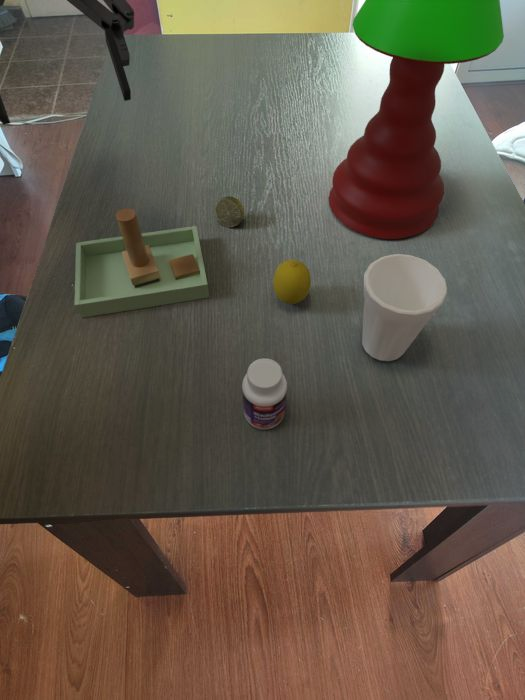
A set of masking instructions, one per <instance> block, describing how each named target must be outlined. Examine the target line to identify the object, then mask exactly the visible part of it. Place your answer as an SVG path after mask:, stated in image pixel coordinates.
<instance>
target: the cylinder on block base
mask: <svg viewBox="0 0 525 700" xmlns="http://www.w3.org/2000/svg"><path fill="white" fill-rule="evenodd" d="M115 219H116V222H117V226H118V228H119V231H120V235H121V236H122V237H123V240H124V243H125V247H126V251H123V252H122V254H123V257H124V260H125V263H126V267H127V270H128V273H129V276H130V279H131V282H132V285H134V286H135V288H137V287H140V286H144V285H147V284H151V283H154V282H158V281H160V280H159V278H160V274H159V271H158V268H157V265H156V263H155V260H154V257H153V255H152V252H151V250H150V247H149V245H145V244H144V241H143V237H142V234H141V233H142V230H141V227H140V226H141V225H140V223H139V220H138V216H137V213H136V211H135V209H133V208H129V207H124V208H122V209H119V210H117V212H116V213H115Z"/></svg>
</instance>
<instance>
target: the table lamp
mask: <svg viewBox="0 0 525 700" xmlns="http://www.w3.org/2000/svg"><path fill="white" fill-rule="evenodd" d="M352 27H353V32H354V34H355V36H356V38H357V39H358V40H359V41H360V42H361V43H362V44H364V45H365V46H366V47H368V48H370V49H372V50H373V51H375V52H377V53H380V54H382V55H385V56H388V57H390V58H391V61H390V64H389V82H388V85H387V87H386V88H385V90H384V92H383V94H382V96H381V98H380V103H379V104H380V105H379V109H378V111H377V113H376V114H374V116H373V117H372V118H370V120H369V121H368V122H367V123H366V126H365V128H364V133H363V135H361V136H360V137H359V138H357V139H356V140H355V141H354V142H353V143H352V144H351V145H350V147H349V149H348V150H347V154H346V158H345V159H343V160H342V161H341V162H340V163H339V164H338V166H337V167H336V168H335V170H334V172H333V175H332V181H331V184H332V187H331V189H330V190H329V194H328V205H329V207H330V209H331V212H332V213H333V214H334V216H335V217H336V219H337V220H339V222H340V223H342V224H343V225H344V226H345V227H347V228H348V229H350V230H352V231H354V232H356V233H359V234H362V235H365V236H368V237H371V238H376V239H381V240H382V239H383V240H399V239H403V238H409V237H412V236H416V235H419V234H422V233H423V232H425V231H427V230H428V229H429V228H430V227H431V226H433V224H434V223H435V221H436V220H437V218H438V217H439V212H440V205H441V203H442V202H443V199H444V196H445V184H444V181H443V178H442V176H441V174H440V173H441V170H442V159H441V157H440V154H439V152H438V150H437V149H436V147H435V144H436V141H437V131H436V128H435V125H434V123H433V120H432V118H433V114H434V112H435V109H436V89H437V86H438V84H439V82H440V81H441V79H442V78H443V74H444V71H445V65H453V64H461V63H468V62H472V61H473V62H474V61H476V60H480V59H482V58H485V57H488V56H489V55H491V54H493V53H494V52H496V50H497V49H498V48H499V47H500V46H501V44H503V41H504V37H505V35H504V25H503V18H502V9H501V1H500V0H364V2H363V3H362V5H361V7H360V8H359V10H358V12H357V13H356V15H355V16H354V17H353V21H352Z"/></svg>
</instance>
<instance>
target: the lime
mask: <svg viewBox="0 0 525 700" xmlns="http://www.w3.org/2000/svg"><path fill="white" fill-rule="evenodd" d="M244 208H245V207H244V206H243V203H242V202H241V201H240V200H239V199H238V198H236V197H234V196H224V197H222V198H220V200H219V201H218V202H217V204H216V206H215V215H216V219H218V222H220V224H221V225H222V226H223V227H227V228H234V227H236V226H239V225H240V224H241V223H242V220H243V219H244V216H245V209H244Z"/></svg>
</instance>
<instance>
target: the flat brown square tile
mask: <svg viewBox="0 0 525 700" xmlns="http://www.w3.org/2000/svg"><path fill="white" fill-rule="evenodd" d="M169 261H170V265H171V268H172V271H173V273H174V276H175V279H176V280H177V279H181V278H185V277H189V276H193V275H196V274H200V270H199V268H198V265H197V263H196V260H195V258H194V255H193V254H191V255H187V256H183V257H179V258H175V259H171V260H169Z"/></svg>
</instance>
